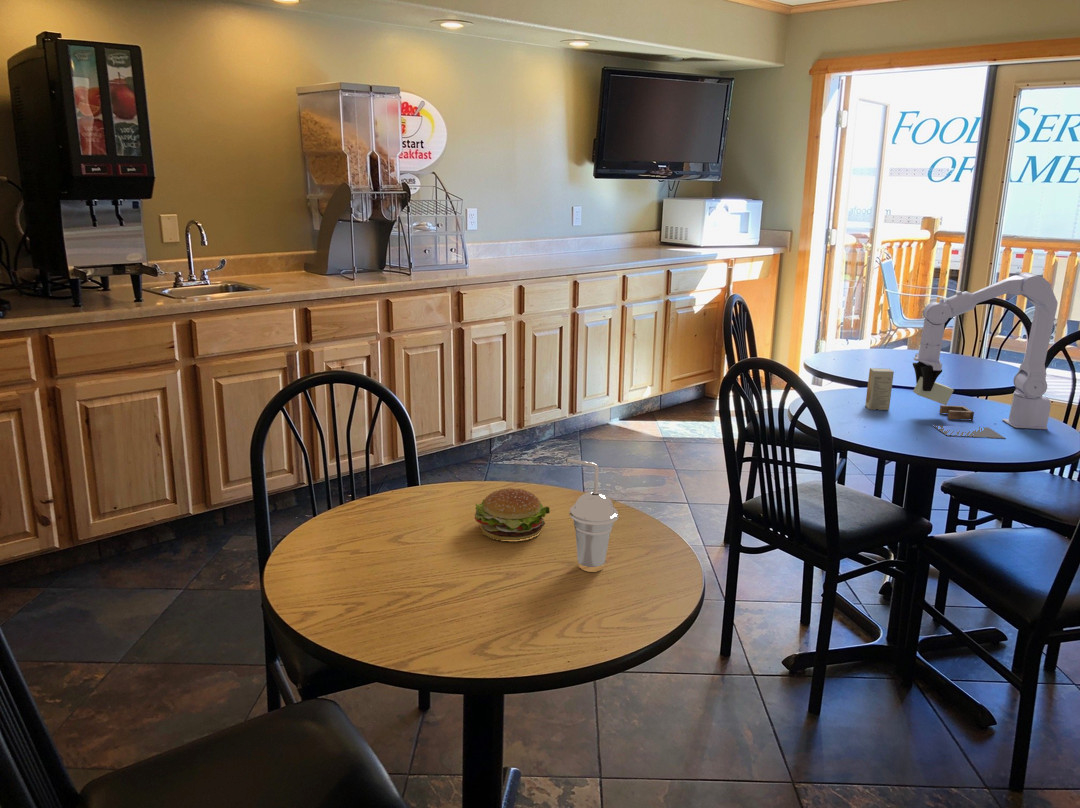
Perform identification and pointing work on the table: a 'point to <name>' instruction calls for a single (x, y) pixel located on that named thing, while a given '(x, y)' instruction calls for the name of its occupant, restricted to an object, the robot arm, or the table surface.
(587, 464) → the cup with straw
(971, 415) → the frame
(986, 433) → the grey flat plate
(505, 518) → the food
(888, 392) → the skincare box
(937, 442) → the table surface
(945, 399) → the block
